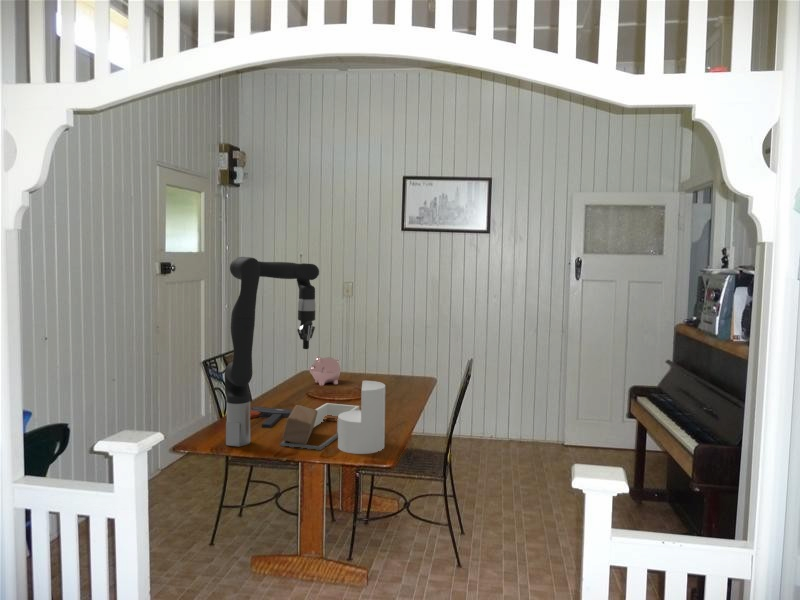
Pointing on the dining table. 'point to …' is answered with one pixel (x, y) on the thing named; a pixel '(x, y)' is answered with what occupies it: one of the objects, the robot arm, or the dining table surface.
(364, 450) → the cylinder
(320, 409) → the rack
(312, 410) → the wooden block
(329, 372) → the piggy bank
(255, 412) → the submachine gun
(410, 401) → the dining table surface
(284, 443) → the frame
